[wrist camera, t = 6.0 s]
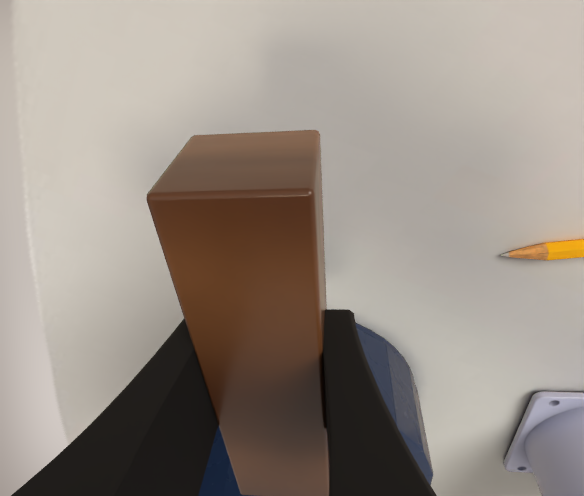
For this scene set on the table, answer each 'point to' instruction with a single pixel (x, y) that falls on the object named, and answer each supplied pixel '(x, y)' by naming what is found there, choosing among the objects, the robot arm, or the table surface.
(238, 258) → the stick
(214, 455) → the tin
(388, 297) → the table surface
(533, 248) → the pencil
